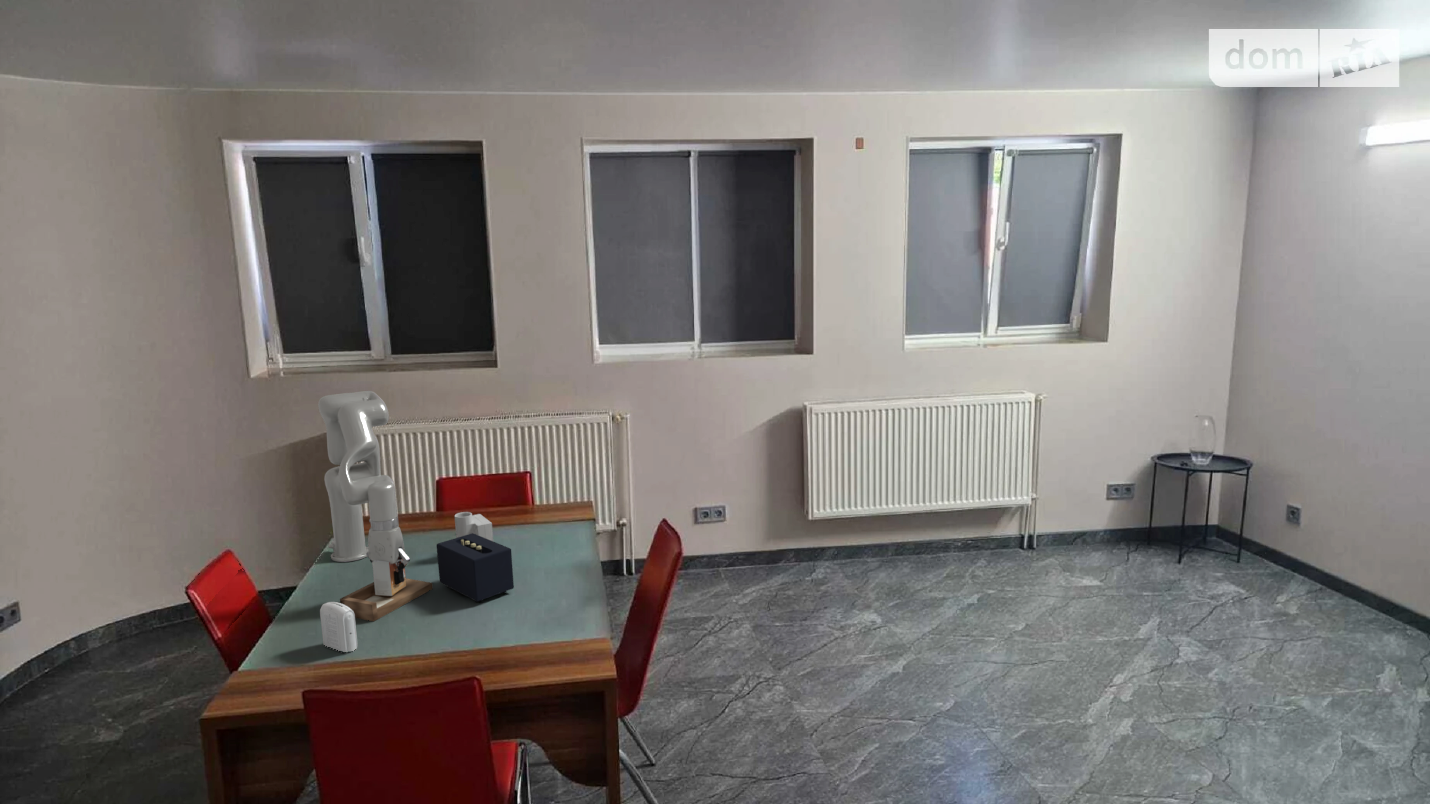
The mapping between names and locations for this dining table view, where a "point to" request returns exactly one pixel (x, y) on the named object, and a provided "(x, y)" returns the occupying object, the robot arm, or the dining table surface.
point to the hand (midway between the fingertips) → (390, 580)
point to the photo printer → (338, 627)
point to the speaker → (475, 566)
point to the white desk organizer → (473, 525)
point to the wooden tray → (383, 599)
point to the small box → (386, 578)
